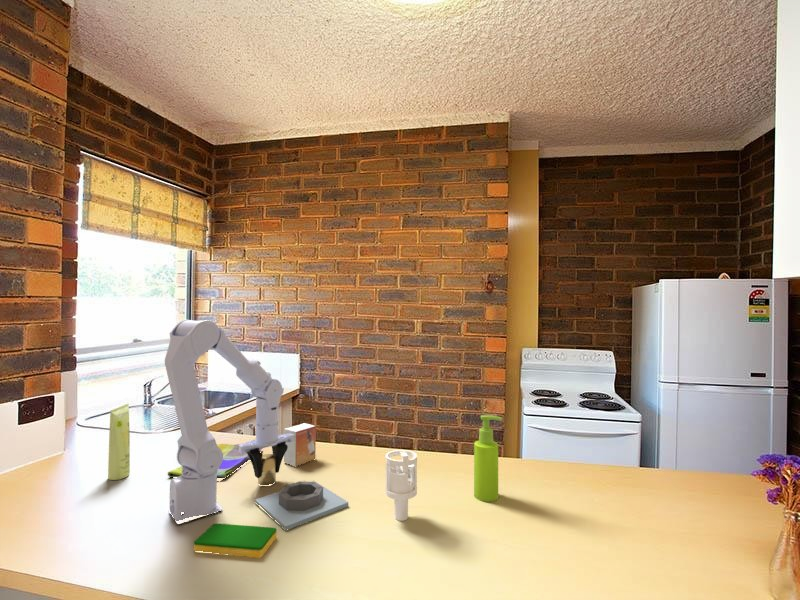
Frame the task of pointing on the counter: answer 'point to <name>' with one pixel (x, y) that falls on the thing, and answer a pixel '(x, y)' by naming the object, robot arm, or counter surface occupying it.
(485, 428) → the soap dispenser
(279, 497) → the ring plate
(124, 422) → the tube
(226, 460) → the dish towel
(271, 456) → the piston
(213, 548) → the dish sponge
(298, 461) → the small box
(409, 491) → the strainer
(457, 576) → the counter surface
